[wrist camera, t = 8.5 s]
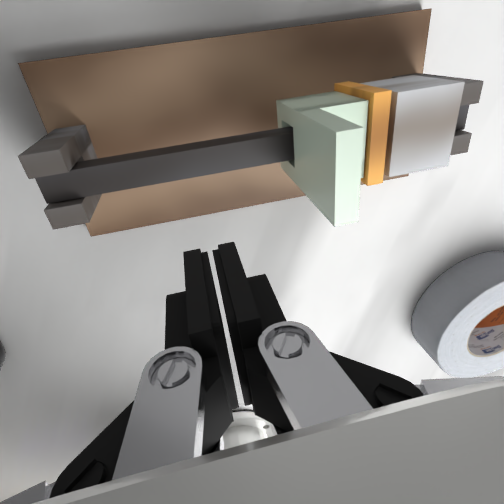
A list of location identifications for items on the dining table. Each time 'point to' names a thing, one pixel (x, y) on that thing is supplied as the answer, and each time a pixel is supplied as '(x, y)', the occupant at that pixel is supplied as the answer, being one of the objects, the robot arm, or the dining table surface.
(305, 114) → the mint green stepped block
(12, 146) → the dining table surface
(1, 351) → the supplement bottle
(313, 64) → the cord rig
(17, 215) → the dining table surface
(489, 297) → the tape roll
